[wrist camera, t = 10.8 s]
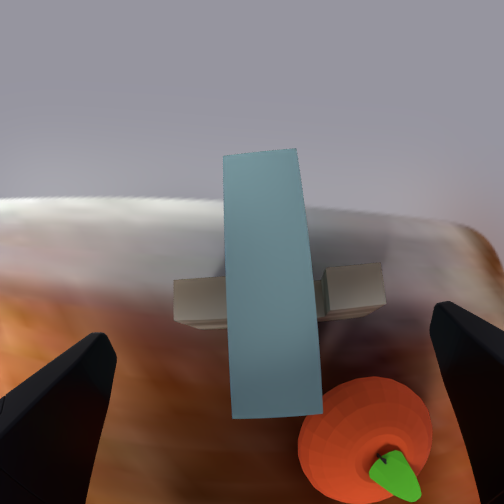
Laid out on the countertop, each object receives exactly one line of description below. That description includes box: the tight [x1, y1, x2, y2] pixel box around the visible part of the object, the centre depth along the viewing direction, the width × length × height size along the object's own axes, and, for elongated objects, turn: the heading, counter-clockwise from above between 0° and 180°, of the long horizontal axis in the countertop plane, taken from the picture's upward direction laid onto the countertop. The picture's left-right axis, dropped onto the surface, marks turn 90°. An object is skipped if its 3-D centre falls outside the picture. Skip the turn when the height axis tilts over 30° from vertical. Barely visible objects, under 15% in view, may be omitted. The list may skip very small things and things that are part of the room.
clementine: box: [298, 376, 433, 504], centre depth 13 cm, size 8×7×7 cm
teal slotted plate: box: [223, 148, 323, 419], centre depth 14 cm, size 8×2×11 cm, turn 3°
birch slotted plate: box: [174, 263, 386, 330], centre depth 17 cm, size 2×10×5 cm, turn 93°
